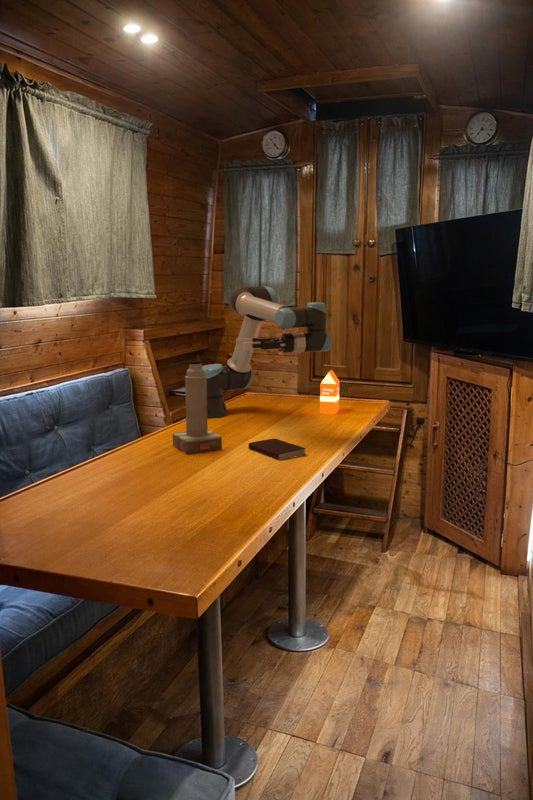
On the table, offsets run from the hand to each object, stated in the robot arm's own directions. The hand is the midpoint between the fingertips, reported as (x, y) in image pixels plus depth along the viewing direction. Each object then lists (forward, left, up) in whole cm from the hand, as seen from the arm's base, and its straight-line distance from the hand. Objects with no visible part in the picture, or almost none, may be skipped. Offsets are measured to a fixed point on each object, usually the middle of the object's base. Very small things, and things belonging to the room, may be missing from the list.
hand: (239, 344), depth 251 cm
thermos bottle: (+3, -20, -33) cm, 39 cm away
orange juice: (-27, +61, -38) cm, 77 cm away
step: (+3, -20, -38) cm, 43 cm away
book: (+23, +3, -39) cm, 45 cm away
